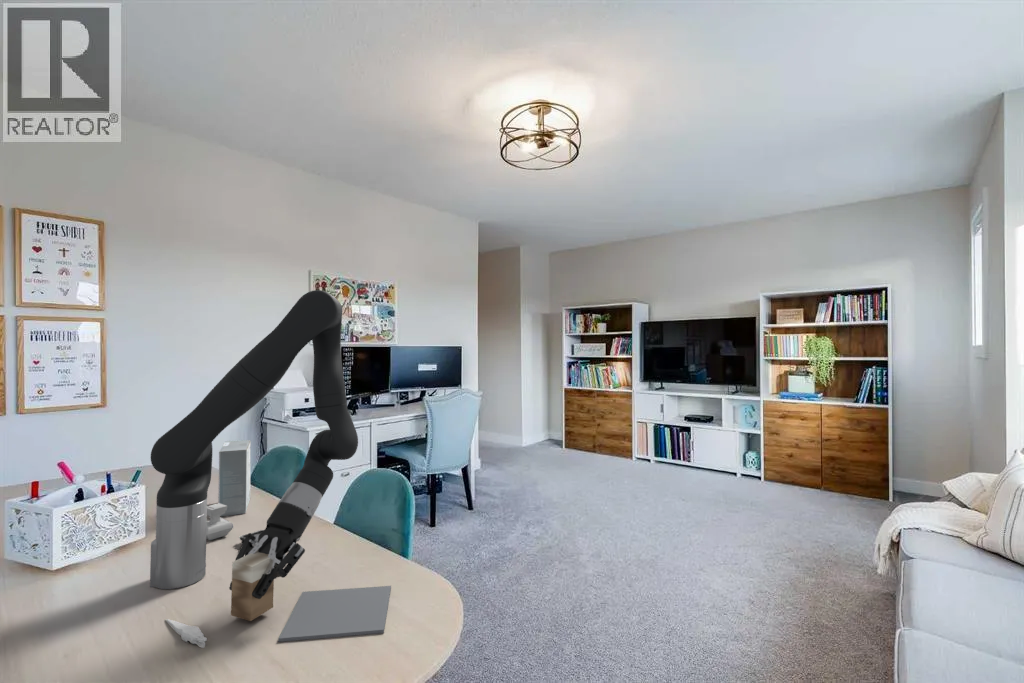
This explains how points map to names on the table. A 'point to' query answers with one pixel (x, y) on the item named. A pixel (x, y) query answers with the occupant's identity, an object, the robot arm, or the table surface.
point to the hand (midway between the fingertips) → (244, 593)
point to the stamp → (217, 522)
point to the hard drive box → (234, 476)
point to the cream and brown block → (249, 587)
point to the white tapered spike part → (188, 632)
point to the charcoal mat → (338, 613)
